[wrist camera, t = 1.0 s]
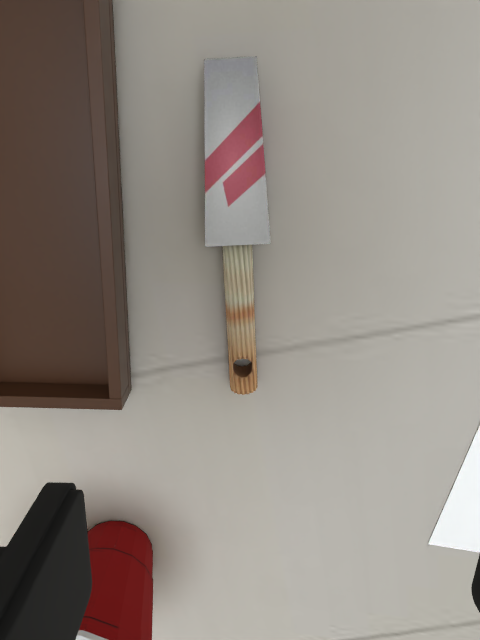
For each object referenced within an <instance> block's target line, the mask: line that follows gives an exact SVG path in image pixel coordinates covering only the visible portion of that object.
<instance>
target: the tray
mask: <svg viewBox="0 0 480 640" xmlns="http://www.w3.org/2000/svg"><path fill="white" fill-rule="evenodd" d="M130 391H131V373H130V353H129V332H128V312H127V291H126V271H125V250H124V229H123V209H122V188H121V168H120V147H119V127H118V106H117V86H116V65H115V45H114V24H113V4H112V0H0V407H32V408H71V409H109V410H122V408H123V406H124V404H125V402H126V400H127V398H128V396H129V393H130Z"/></svg>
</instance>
